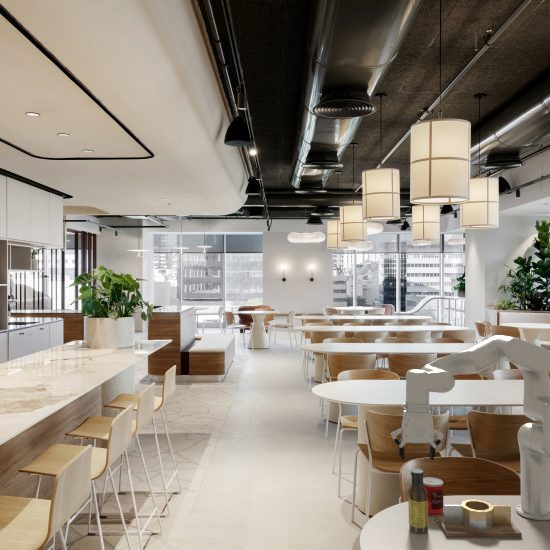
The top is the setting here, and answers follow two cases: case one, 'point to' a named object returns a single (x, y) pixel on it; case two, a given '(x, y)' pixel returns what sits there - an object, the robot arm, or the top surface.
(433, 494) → the canned food
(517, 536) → the walnut board
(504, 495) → the top surface
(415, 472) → the sauce bottle
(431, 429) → the robot arm
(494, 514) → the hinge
